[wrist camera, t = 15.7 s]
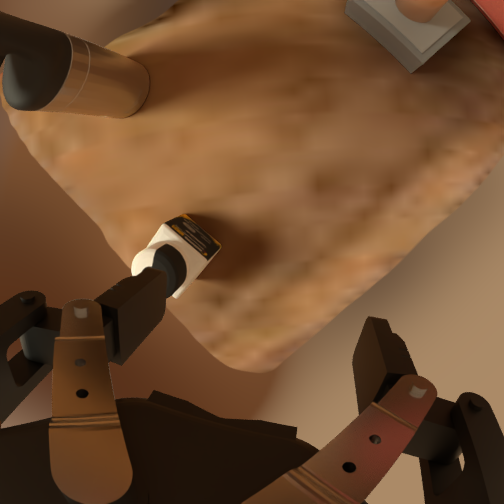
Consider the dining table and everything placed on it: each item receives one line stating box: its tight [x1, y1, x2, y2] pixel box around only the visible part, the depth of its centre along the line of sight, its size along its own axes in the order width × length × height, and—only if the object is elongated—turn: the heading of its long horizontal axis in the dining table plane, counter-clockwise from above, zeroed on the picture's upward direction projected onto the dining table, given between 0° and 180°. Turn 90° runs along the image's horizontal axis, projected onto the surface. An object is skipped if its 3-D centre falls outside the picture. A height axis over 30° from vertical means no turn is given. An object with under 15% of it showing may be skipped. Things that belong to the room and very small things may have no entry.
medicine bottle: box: [131, 214, 222, 299], centre depth 39 cm, size 7×7×12 cm
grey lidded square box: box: [344, 0, 471, 73], centre depth 27 cm, size 12×12×5 cm
